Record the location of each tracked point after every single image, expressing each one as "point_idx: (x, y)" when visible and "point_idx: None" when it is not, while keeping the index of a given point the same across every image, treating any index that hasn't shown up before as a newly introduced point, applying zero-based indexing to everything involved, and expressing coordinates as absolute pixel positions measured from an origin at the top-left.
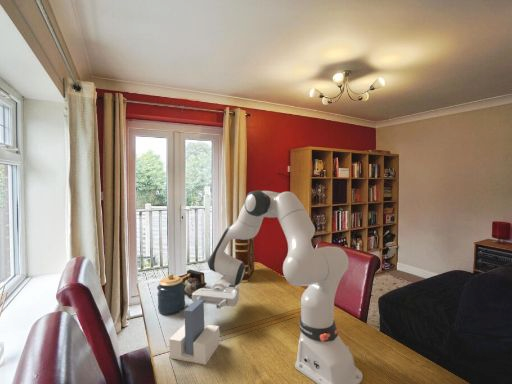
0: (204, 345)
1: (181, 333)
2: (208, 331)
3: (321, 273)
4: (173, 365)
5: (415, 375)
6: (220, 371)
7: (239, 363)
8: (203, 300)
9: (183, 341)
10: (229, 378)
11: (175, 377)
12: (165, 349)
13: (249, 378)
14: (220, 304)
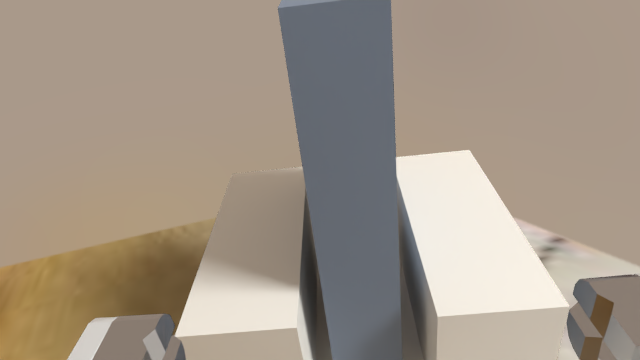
0: (235, 175)
1: (446, 192)
2: (255, 254)
3: None
4: None
5: None
6: (172, 254)
7: (72, 315)
8: (278, 11)
9: (397, 195)
10: (129, 240)
11: None
12: (563, 281)
13: (41, 261)
14: (82, 351)
